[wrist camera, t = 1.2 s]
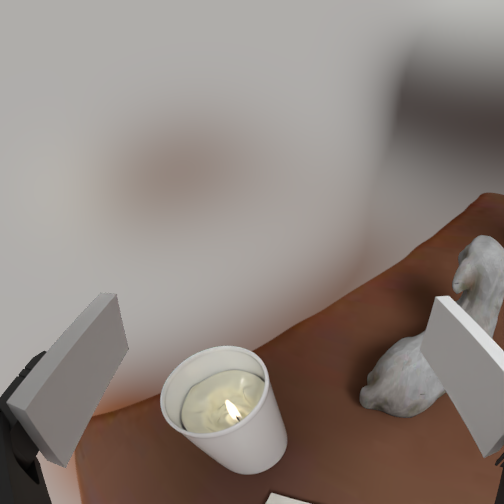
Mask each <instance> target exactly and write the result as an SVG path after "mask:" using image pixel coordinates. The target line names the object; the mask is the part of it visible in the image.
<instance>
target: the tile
mask: <svg viewBox="0 0 504 504" xmlns="http://www.w3.org/2000/svg"><path fill="white" fill-rule="evenodd" d="M266 504H310V503H306V502H302V501H299V500H295V499H291V498H288V497H284V496H281V495H278V494H274V493H271V494H270V496H269V498H268V500H267V502H266Z"/></svg>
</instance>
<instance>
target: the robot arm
mask: <svg viewBox="0 0 504 504" xmlns="http://www.w3.org/2000/svg"><path fill="white" fill-rule="evenodd" d="M128 349H129V348H128V344H127V340H126V336H125V331H124V327H123V323H122V318H121V314H120V309H119V304H118V299H117V294H111V293H100V294H99V295H98V296H97V297H96V298H95V299H94V300H93V301H92V302H91V304H89V306H88V307H87V308H86V309H85V310H84V311H83V312H82V313H81V314H80V315H79V316H78V317H77V318H76V320H75V321H74V322H73V323H72V324H71V325H70V326H69V327H68V328H67V330H66V331H65V332H64V333H63V334H62V335H61V336H60V337H59V339H58V340H57V341H56V342H55V343H54V344H53V345H52V347H51V348H50V349H49V350H48V351H47V352H46V351H43V352H41V353H40V354H38V355H37V356H35V357H34V358H33V359H32V360H31V361H30V362H29V363H28V364H27V365H26V366H25V369H23V370H22V371H21V372H20V374H19V377H16V378H15V380H14V381H13V382H12V383H11V385H10V386H9V387H8V388H7V389H6V391H5V392H4V393H3V394H2V396H1V397H0V504H52V503H51V500H50V497H49V494H48V491H47V487H46V484H45V481H44V477H43V474H42V471H41V467H40V463H39V461H38V459H37V457H36V455H37V453H38V451H40V452H41V453H42V454H43V456H44V457H45V458H46V459H47V460H48V461H50V462H53V463H55V464H57V465H60V466H62V467H65V468H66V467H67V464H68V462H69V460H70V458H71V456H72V454H73V452H74V450H75V448H76V446H77V444H78V442H79V440H80V438H81V436H82V434H83V432H84V430H85V428H86V426H87V424H88V422H89V420H90V419H91V417H92V415H93V413H94V411H95V409H96V407H97V405H98V403H99V401H100V400H101V398H102V396H103V394H104V392H105V390H106V389H107V387H108V385H109V383H110V381H111V379H112V378H113V376H114V374H115V372H116V371H117V369H118V367H119V365H120V363H121V362H122V360H123V358H124V356H125V355H126V353H127V351H128ZM419 350H420V351H421V353H422V354H423V356H424V357H425V359H426V360H427V362H428V363H429V365H430V366H431V368H432V370H433V371H434V373H435V374H436V376H437V377H438V379H439V381H440V382H441V384H442V385H443V387H444V389H445V390H446V392H447V393H448V395H449V397H450V398H451V400H452V402H453V403H454V405H455V407H456V408H457V410H458V412H459V414H460V415H461V417H462V419H463V420H464V422H465V424H466V426H467V427H468V429H469V431H470V433H471V435H472V436H473V438H474V440H475V442H476V444H477V446H478V448H479V449H480V451H481V453H482V455H483V457H484V458H485V457H487V456H489V455H491V454H493V453H495V452H497V451H499V450H500V449H501V447H502V446H503V445H504V351H503V350H502V349H501V348H500V347H499V346H498V345H497V344H496V343H495V342H494V340H493V339H492V338H491V337H490V336H489V335H488V334H487V333H486V332H485V331H484V330H483V329H482V328H481V327H480V326H479V325H478V324H477V323H476V322H475V321H474V320H473V319H472V318H471V317H470V316H469V315H468V314H467V313H466V312H465V311H464V310H463V309H462V308H461V307H460V306H459V305H458V304H457V303H456V302H455V301H454V300H453V299H452V298H451V297H449V296H438V297H435V300H434V304H433V307H432V311H431V314H430V318H429V321H428V324H427V328H426V331H425V334H424V337H423V340H422V343H421V346H420V349H419ZM503 459H504V453H503V454H502V455H501V456H500V458H499V459H498V460H497V461H496V463H495V465H496V466H497V465H498V464H499V463H500V462H501V461H502V460H503ZM500 467H503V470H502V475H501V480H500V484H499V489H498V493H497V496H496V500H495V504H504V462H503V463H502V464H501V466H500Z"/></svg>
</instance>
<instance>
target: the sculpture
mask: <svg viewBox="0 0 504 504" xmlns="http://www.w3.org/2000/svg"><path fill="white" fill-rule="evenodd" d="M458 261H459V268H458V269H457V271H456V274H455V276H454V279H453V282H452V288H453V290H454V291H455V293H456V294H458V293H460V292H462V291H463V294H462V296H461V297H460V299H459V300H458V301H456V303H457V304H458V305H459V306H460V307H461V308H462V309H463V310H464V311H465V312H466V313H467V314H468V315H469V316H470V317H471V318H472V319H473V320H474V321H475V322H476V323H477V324H478V325H479V326H480V327H481V328H482V329H483V330H484V331H485V332H486V333H487V334H488V335H489V336H490V337H491V338H493V333H494V330H495V327H496V324H497V319H498V314H499V310H500V307H501V305H502V302H503V298H504V249H503V247H502V246H501V245H500V244H499V243H498V242H497V241H496V240H495V239H493V238H492V237H490V236H485V235H481V236H478V237H477V238H475V239H474V240H473V241H472V242H471V243H470V244H469V245H467V246H466V247H465V249H464V250H463V251H462V252H460V254H459V257H458ZM425 331H426V330H425ZM425 331H423V332H422V333H421V334H419V335H417V336H414V337H406V338H403V339H401V340H399V341H398V342H396V343H395V344H394V345H393V346H392V347H391V348H390V349H388V350H387V352H386V353H385V354H384V355H383V356H382V357H381V358H380V359H379V361H378V362H377V364H376V366H375V367H374V369H373V370H372V371H371V372H370V373H369V374H368V377H367V386H365V387H363V388H362V389H361V392H360V403H361V405H362V406H363V407H364V408H366V409H375V410H380V411H383V412H385V413H387V414H389V415H392V416H396V417H403V418H411V417H413V416H415V415H417V414H419V413H421V412H423V411H424V410H426V409H427V408H429V407H430V406H431V405H432V404H433V403H434V402H435V401H436V400H437V399H438V398H439V397H440V396H442V395H443V394H444V393H446V390H445V389H444V387H443V385H442V384H441V382H440V381H439V379H438V377H437V376H436V374H435V373H434V371H433V370H432V368H431V366H430V365H429V363H428V362H427V360H426V359H425V357H424V356H423V354H422V353H421V351H420V350H419V349H420V346H421V343H422V340H423V337H424V334H425Z"/></svg>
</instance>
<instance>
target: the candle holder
mask: <svg viewBox="0 0 504 504" xmlns="http://www.w3.org/2000/svg"><path fill="white" fill-rule="evenodd" d="M160 405H161V410H162V413H163V416H164V418H165V419H166V421H167V422H168V423H169V424H170V425H171V426H172V427H173V428H174V429H175V430H177V431H178V432H180V433H181V434H182V435H184V436H185V437H186V438H187V439H188V440H190V441H191V442H192V443H193V444H195V445H196V446H197V447H198V448H200V449H201V450H202V451H203V452H205V453H206V454H207V455H209V456H210V457H211V458H213V459H214V460H215V461H217V462H218V463H219V464H221V465H222V466H224V467H225V468H227V469H228V470H230V471H233V472H235V473H239V474H246V475H249V474H257V473H261V472H263V471H266V470H268V469H269V468H271V467H272V466H274V465H275V464H276V463H277V462H278V461H279V460H280V459H281V457H282V456H283V454H284V452H285V450H286V447H287V432H286V429H285V425H284V422H283V419H282V416H281V413H280V410H279V407H278V404H277V401H276V398H275V395H274V392H273V389H272V386H271V383H270V380H269V374H268V371H267V368H266V366H265V364H264V362H263V361H262V360H261V359H260V358H259V357H258V356H257V355H256V354H255V353H253V352H252V351H250V350H247V349H245V348H242V347H237V346H217V347H212V348H208V349H205V350H202V351H200V352H198V353H195V354H193V355H192V356H190V357H188V358H187V359H185V360H184V361H183V362H182V363H180V364H179V365H178V366H177V367H176V368H175V369H174V370H173V371H172V372H171V374H170V375H169V376H168V378H167V379H166V381H165V383H164V385H163V388H162V391H161V397H160Z"/></svg>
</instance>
